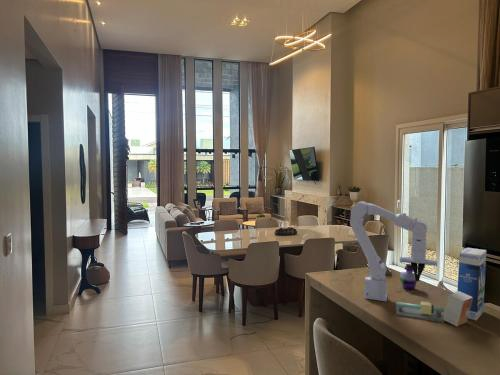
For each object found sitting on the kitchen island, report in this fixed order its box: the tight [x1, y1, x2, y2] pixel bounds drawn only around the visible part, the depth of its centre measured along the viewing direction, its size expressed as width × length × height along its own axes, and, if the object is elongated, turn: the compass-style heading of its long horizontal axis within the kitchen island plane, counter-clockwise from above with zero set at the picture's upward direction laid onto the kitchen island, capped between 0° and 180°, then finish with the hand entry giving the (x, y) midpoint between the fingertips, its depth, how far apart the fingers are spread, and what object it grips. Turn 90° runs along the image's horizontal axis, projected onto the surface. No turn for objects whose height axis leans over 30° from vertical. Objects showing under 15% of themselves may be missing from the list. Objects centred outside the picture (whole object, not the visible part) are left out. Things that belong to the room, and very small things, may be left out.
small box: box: [443, 291, 473, 328], centre depth 138 cm, size 8×6×10 cm
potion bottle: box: [399, 263, 418, 291], centre depth 176 cm, size 9×9×12 cm
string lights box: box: [456, 247, 487, 321], centre depth 147 cm, size 13×8×26 cm, turn 137°
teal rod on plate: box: [395, 301, 446, 323], centre depth 145 cm, size 17×8×5 cm, turn 69°
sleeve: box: [419, 301, 432, 315], centre depth 144 cm, size 4×4×4 cm
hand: (417, 280), depth 156 cm, fingers closed
